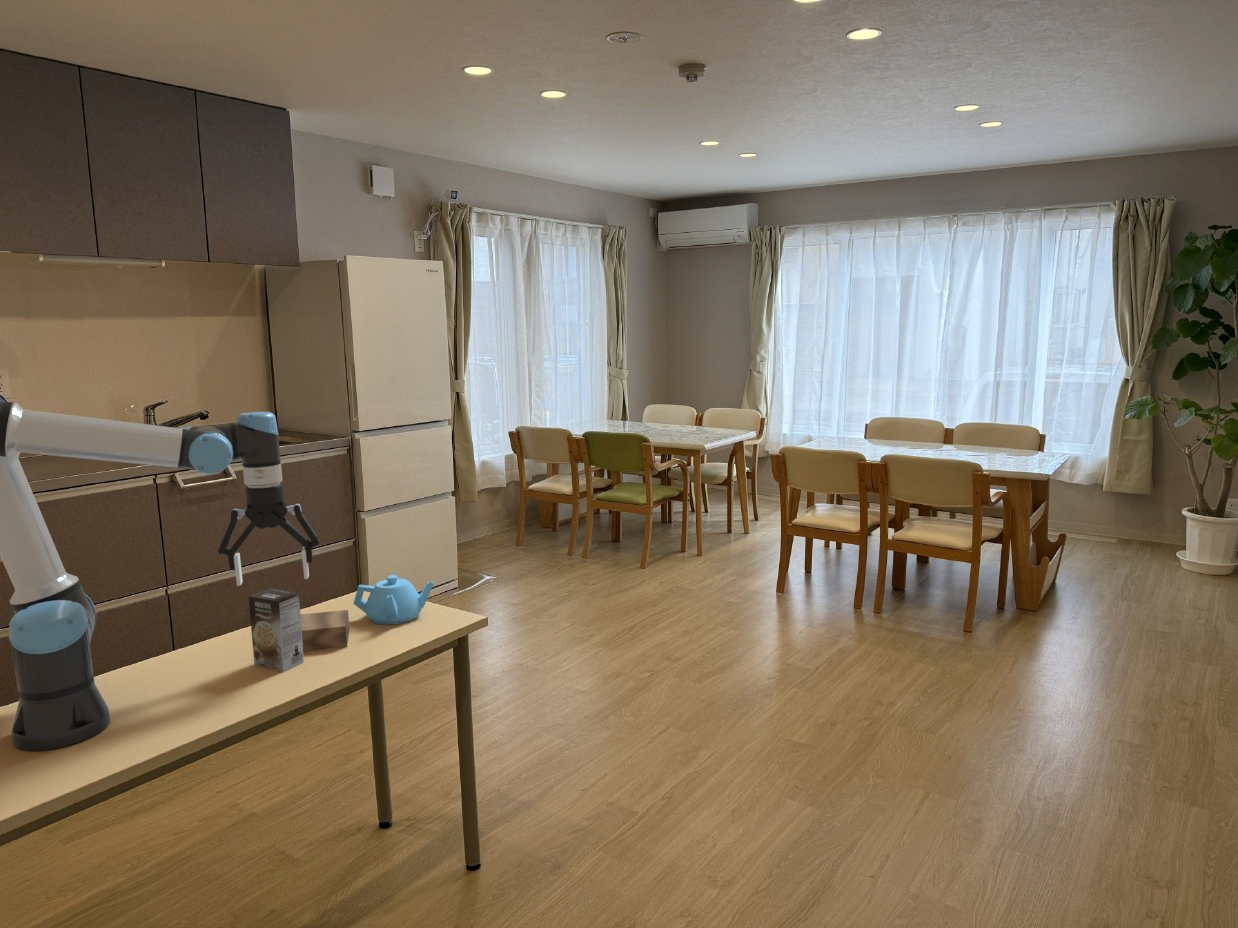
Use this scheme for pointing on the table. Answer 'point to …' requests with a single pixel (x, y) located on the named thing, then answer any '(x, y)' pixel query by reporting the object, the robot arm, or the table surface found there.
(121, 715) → the table surface
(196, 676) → the table surface
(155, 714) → the table surface
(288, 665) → the coffee box
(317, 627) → the walnut base
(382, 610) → the teapot
